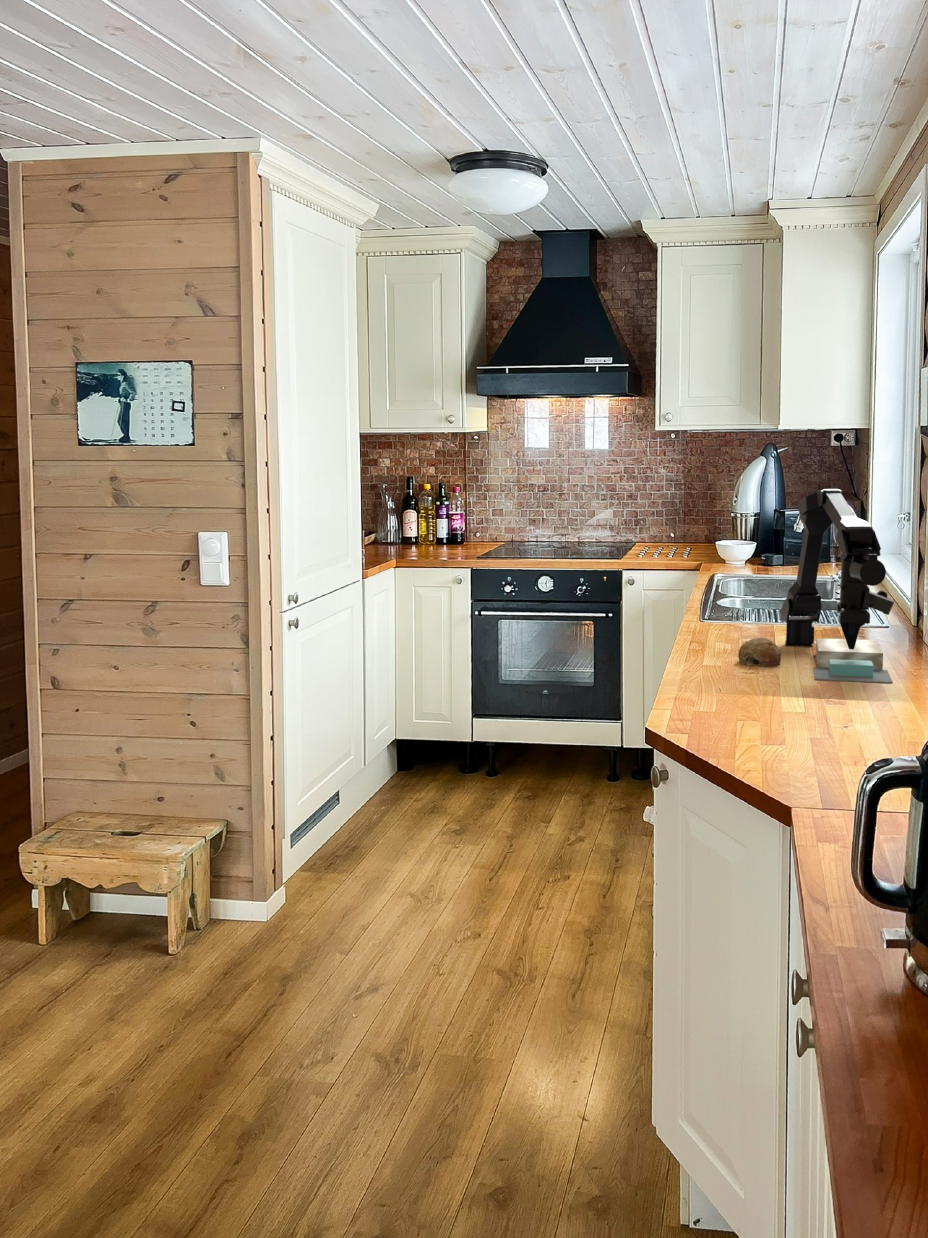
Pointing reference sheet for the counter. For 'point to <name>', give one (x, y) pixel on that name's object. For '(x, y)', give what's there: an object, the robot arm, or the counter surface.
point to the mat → (878, 676)
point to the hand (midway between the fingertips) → (851, 649)
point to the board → (848, 651)
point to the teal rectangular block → (851, 667)
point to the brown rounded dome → (760, 653)
